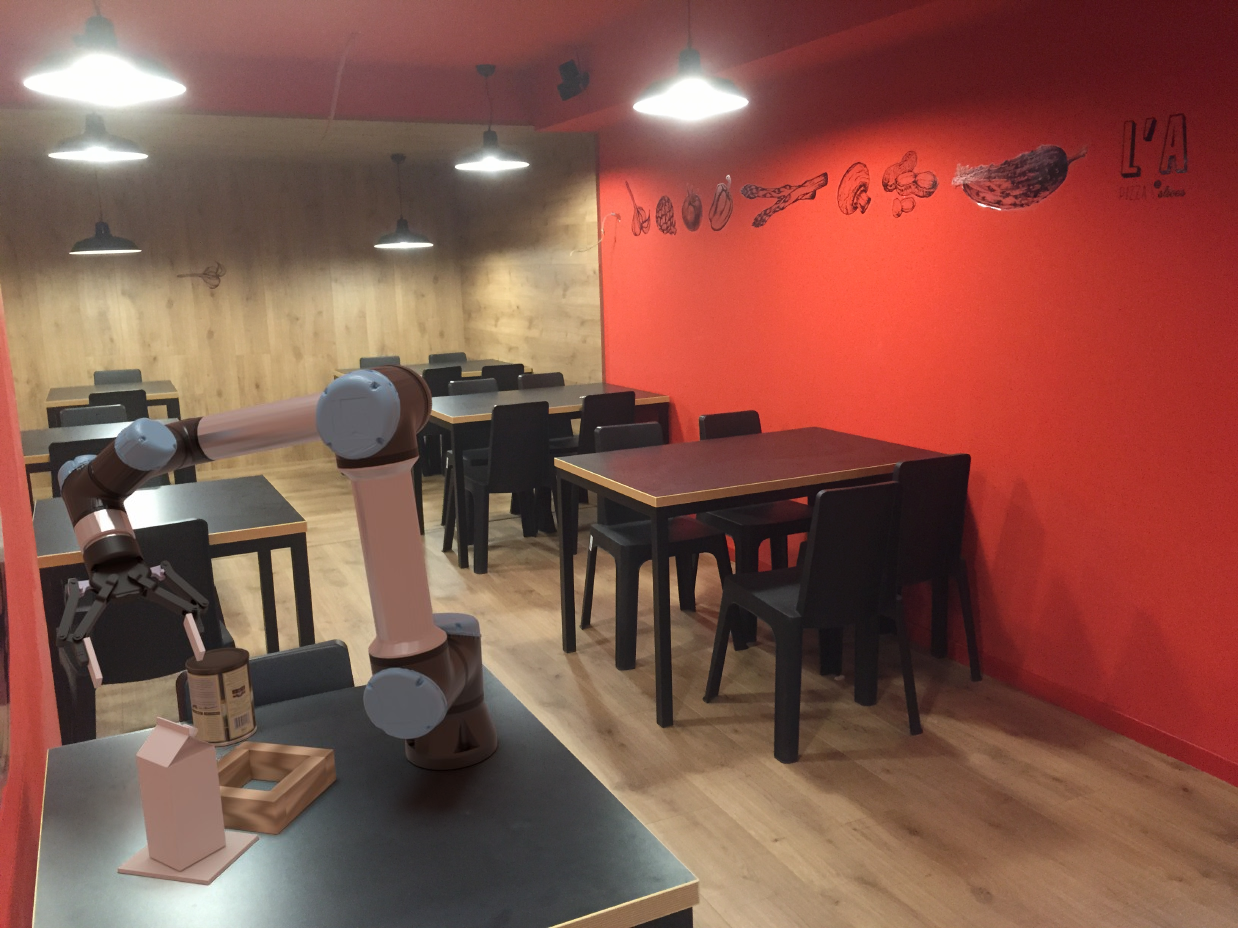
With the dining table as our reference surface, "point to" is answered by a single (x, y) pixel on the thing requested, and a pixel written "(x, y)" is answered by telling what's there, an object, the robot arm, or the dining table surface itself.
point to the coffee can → (222, 696)
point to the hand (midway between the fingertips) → (151, 669)
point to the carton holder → (289, 765)
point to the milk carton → (180, 795)
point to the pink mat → (199, 870)
